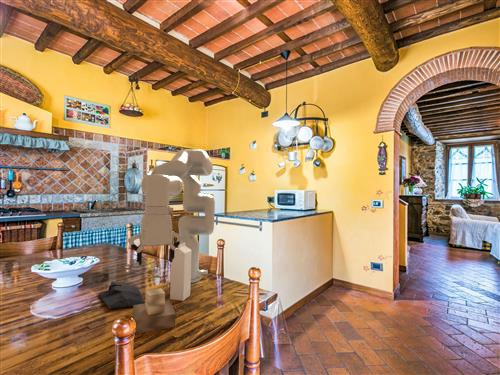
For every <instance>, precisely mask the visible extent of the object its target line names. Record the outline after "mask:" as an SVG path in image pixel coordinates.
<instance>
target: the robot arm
mask: <svg viewBox="0 0 500 375" xmlns="http://www.w3.org/2000/svg"><path fill="white" fill-rule="evenodd" d="M212 173H213V163H212V159H211V158H210V156H209V154H208V153H207V152H206V151H205V150H203V149H189V148H188V149H187V148H186V149H180V150H178V151H177V152H176V154H174V156H173V157H172V158H171V160H169V161H166V162H164V163H162V164H159V165H156V166H154V167H152V168H150V169H149V170H148V171H147V172H146V174H144V176H143V178H142V180H141V182H140V184H141V185H140V188H141V191H142V193H143V194H144V195H145V202H144V204H145V206H144V208H145V209H144V214H143V215H142V216H141V222H140V229H139V233H137V234H135V235H133V236H131V237H129V238H128V239H127V242H128V243H129V246H130V247H131V249H133V251H135V252H136V263H138V266H142V264H143V252H142V250H143V249H145V247H159V246H168V247H169V250H168V261H169V262H170V263H171V262H172V261H173V259H174V251H175V250H176V249H178V246H179V245H180V244H182V243H184V242H185V243H186V246H187V247H188V248H189V249H191V250H192V253H191V284H192V283H197V282H200V281H201V279H202V275H208V273H209V271H208V269H200V267H199V265H200V264H199V263H200V242H199V240H198V238H197V237H196V236H209V235H210V236H211V235H212V234H213V233H214V229H215V212H216V211H215V210H216V207H215V206H216V205H215V204H216V202H215V198H214V196H213V195H212V194H207V193H206V194H205V193H201V191H202V189H201V188H202V185H201V182H200V180H199V179H198V178H197V176H198V177H200V176H201V177H207V176H210V175H212ZM182 191H183V195H182V209H183V211H185V213H191V214H192V213H193V214H196V215H191V214H189V215H184V216H181V217H180V218H179V219H178V223H177V224H178V225H177V227H178V233H177V232H175V231H173V221H172V215H171V214H170V213H171V212H174V207H171V206H170V197H176V196H178V195H180V194H181V193H182ZM197 214H204V215H197ZM174 237H175V238H177V240H176V241H175V242H174V243H173V238H174ZM138 239H139V244H138V245H137V244H135V242H134V241H137V240H138Z"/></svg>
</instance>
